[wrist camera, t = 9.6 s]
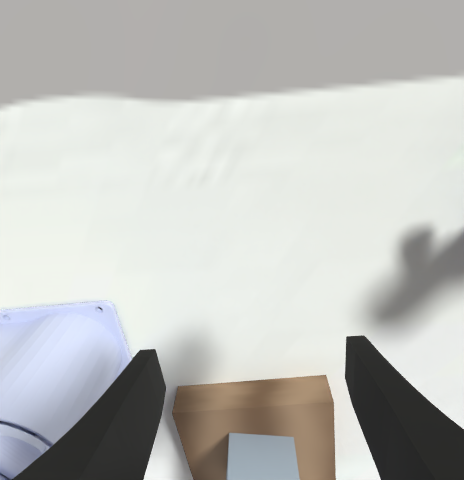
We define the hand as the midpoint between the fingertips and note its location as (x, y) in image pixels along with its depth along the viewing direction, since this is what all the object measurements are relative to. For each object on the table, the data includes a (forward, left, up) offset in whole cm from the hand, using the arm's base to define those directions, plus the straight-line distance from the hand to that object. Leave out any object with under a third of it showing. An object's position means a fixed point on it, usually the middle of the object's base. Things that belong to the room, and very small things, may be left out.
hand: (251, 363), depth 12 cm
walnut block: (-1, -18, -11) cm, 21 cm away
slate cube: (-1, -18, -8) cm, 19 cm away
